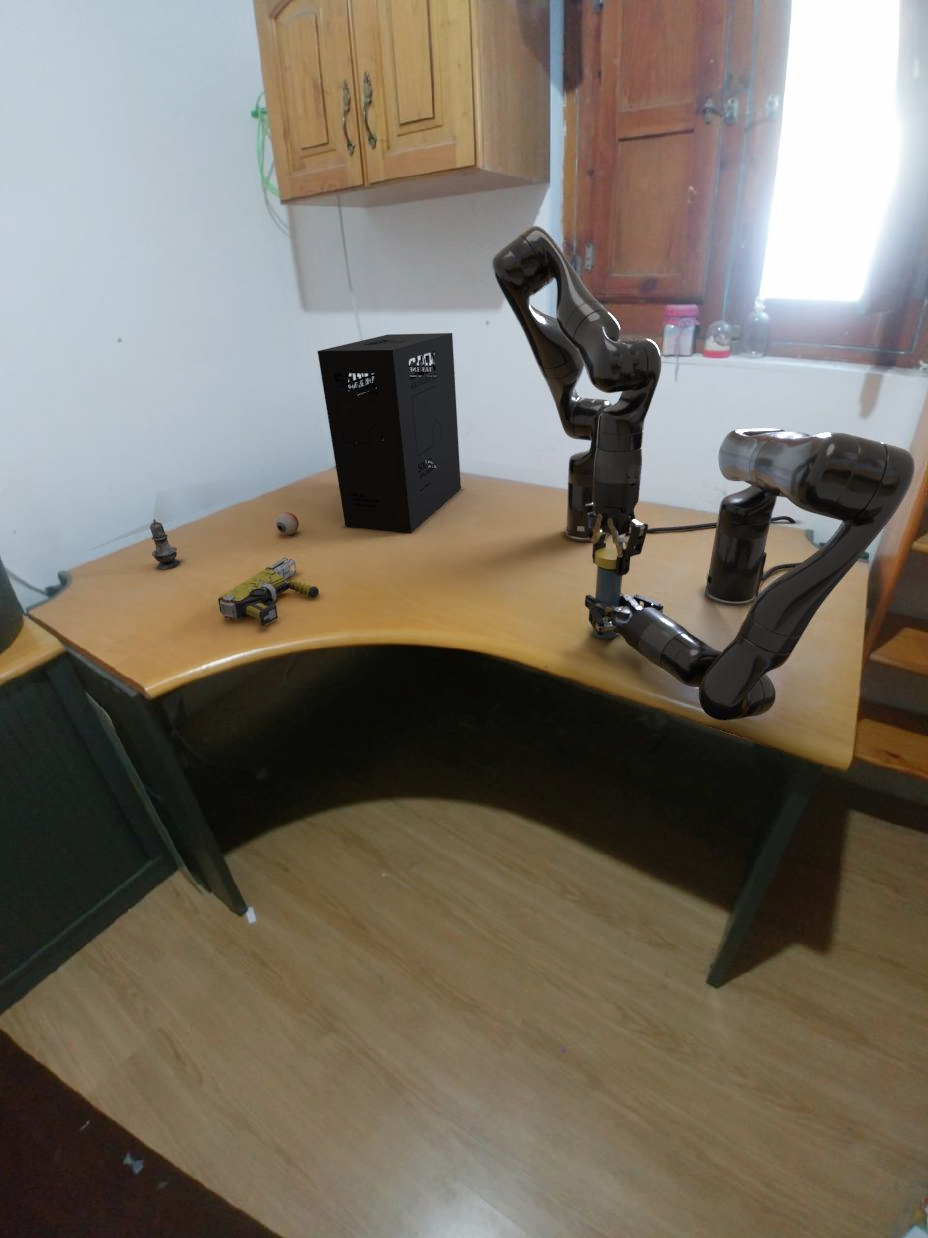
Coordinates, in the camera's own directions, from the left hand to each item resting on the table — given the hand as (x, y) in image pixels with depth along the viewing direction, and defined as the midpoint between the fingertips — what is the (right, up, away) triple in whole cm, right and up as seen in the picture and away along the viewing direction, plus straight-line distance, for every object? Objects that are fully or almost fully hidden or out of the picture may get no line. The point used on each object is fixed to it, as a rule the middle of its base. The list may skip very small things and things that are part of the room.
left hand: (609, 568), depth 106 cm
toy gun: (-65, -5, +25) cm, 70 cm away
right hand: (-1, -5, +6) cm, 7 cm away
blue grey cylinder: (+1, -11, +7) cm, 13 cm away
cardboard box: (-43, +25, +74) cm, 89 cm away
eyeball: (-74, +14, +59) cm, 95 cm away
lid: (0, +2, -1) cm, 3 cm away
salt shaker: (-100, +5, +45) cm, 110 cm away
